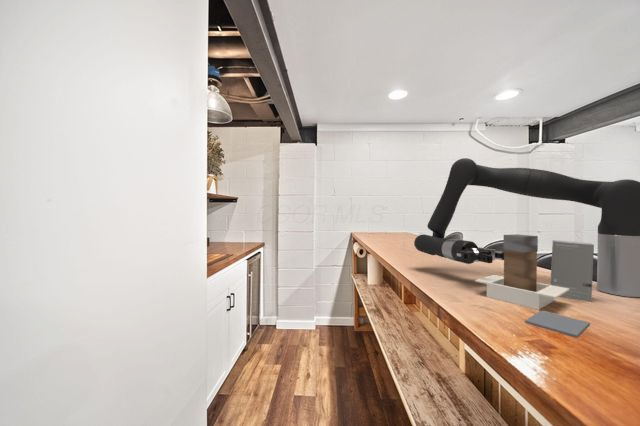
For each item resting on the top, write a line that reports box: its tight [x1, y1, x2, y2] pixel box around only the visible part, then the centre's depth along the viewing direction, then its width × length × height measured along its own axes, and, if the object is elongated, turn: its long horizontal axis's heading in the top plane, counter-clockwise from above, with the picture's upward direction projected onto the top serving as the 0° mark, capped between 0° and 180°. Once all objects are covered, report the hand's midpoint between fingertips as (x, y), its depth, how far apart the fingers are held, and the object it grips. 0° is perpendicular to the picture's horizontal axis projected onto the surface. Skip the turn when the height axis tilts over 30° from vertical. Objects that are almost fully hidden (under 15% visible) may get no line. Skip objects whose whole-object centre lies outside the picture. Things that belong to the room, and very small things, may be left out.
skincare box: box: [549, 239, 595, 303], centre depth 73 cm, size 8×7×16 cm
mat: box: [524, 309, 590, 339], centre depth 55 cm, size 10×8×1 cm
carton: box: [474, 274, 570, 311], centre depth 70 cm, size 11×17×4 cm, turn 35°
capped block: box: [503, 233, 539, 292], centre depth 70 cm, size 5×5×17 cm
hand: (503, 258), depth 75 cm, fingers open, 8 cm apart
